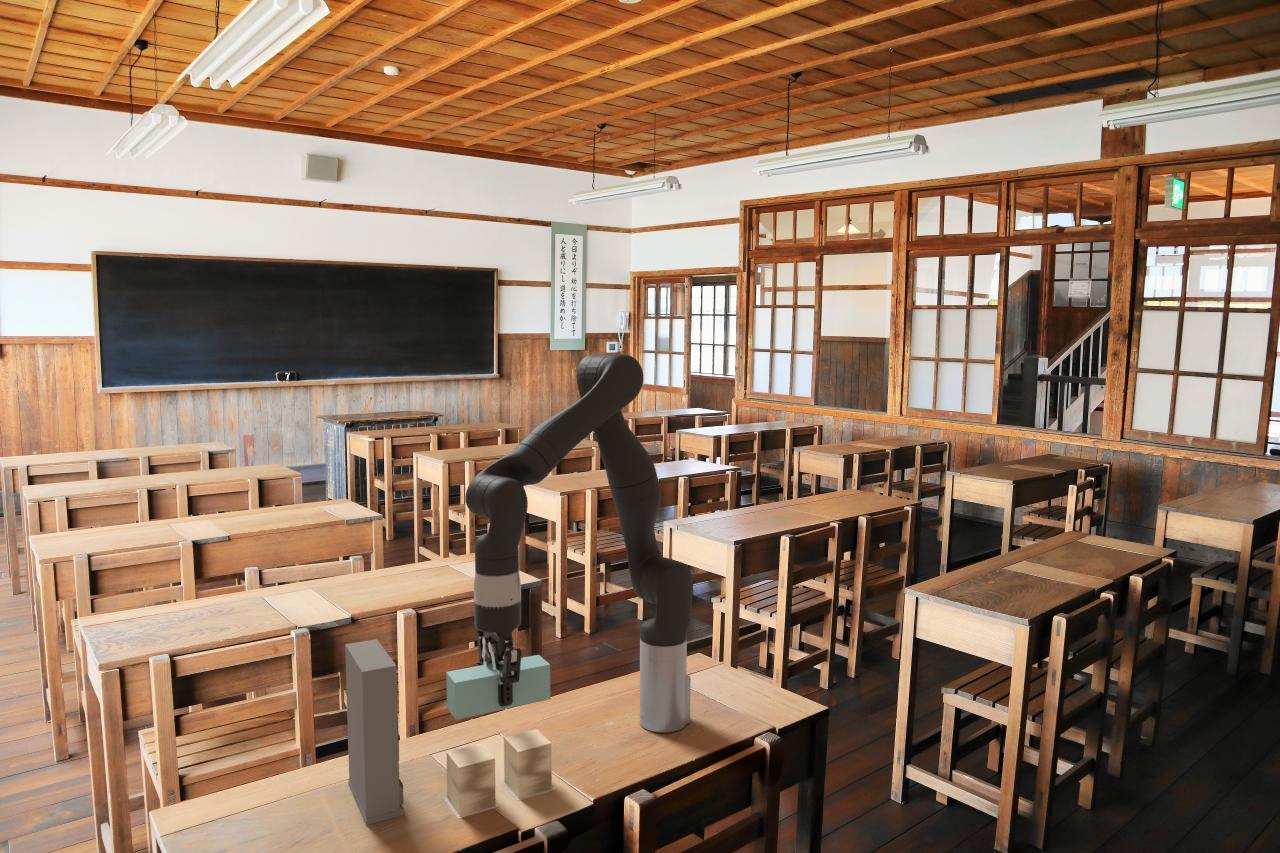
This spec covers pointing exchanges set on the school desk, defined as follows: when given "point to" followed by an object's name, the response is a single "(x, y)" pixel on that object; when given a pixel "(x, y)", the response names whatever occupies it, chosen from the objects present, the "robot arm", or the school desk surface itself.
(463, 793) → the pillar
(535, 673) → the lintel
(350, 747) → the tall grey upright post
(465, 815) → the thin flat base plate
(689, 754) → the school desk surface
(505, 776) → the pillar
